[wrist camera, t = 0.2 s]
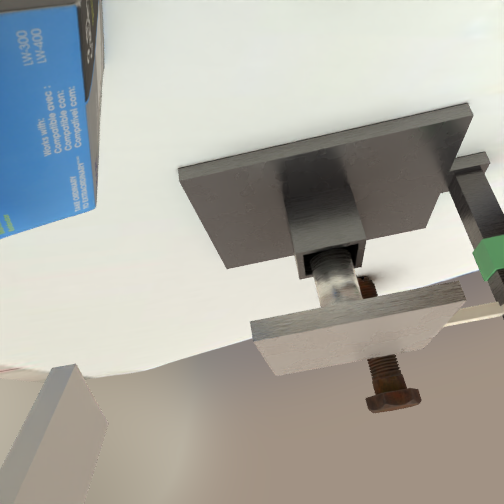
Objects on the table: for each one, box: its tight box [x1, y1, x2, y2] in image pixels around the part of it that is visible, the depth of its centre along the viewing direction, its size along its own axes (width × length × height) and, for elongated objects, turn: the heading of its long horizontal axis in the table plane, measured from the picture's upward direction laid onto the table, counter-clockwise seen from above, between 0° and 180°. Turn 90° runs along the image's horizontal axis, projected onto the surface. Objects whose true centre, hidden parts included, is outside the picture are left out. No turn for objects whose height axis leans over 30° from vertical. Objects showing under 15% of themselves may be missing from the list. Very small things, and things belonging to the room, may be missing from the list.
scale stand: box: [178, 103, 504, 318], centre depth 31 cm, size 15×22×16 cm
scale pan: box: [250, 249, 503, 376], centre depth 31 cm, size 12×16×7 cm
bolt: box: [357, 277, 421, 413], centre depth 50 cm, size 6×5×15 cm
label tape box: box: [0, 0, 104, 239], centre depth 14 cm, size 9×4×12 cm, turn 165°
